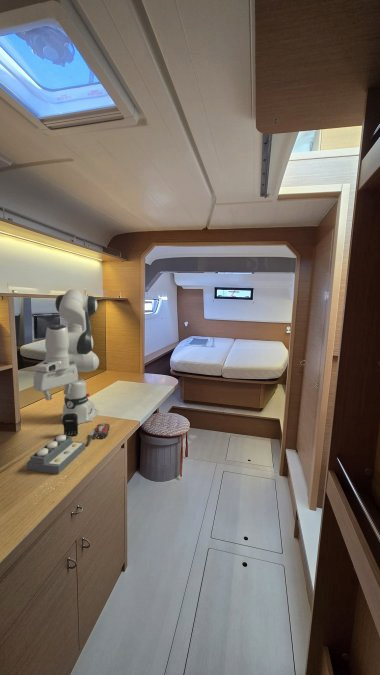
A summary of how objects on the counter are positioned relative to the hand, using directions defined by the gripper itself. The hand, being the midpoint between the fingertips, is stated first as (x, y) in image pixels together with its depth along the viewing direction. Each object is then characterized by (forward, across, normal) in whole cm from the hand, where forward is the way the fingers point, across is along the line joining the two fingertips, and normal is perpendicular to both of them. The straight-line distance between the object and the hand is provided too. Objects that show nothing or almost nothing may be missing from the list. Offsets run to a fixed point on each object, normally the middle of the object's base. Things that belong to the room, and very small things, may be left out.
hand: (57, 396), depth 113 cm
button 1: (+23, +5, -3) cm, 24 cm away
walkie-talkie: (+27, -24, +2) cm, 36 cm away
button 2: (+23, -6, -5) cm, 24 cm away
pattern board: (+27, -1, -1) cm, 27 cm away
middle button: (+23, 0, -4) cm, 23 cm away
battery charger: (+27, -20, -12) cm, 35 cm away
